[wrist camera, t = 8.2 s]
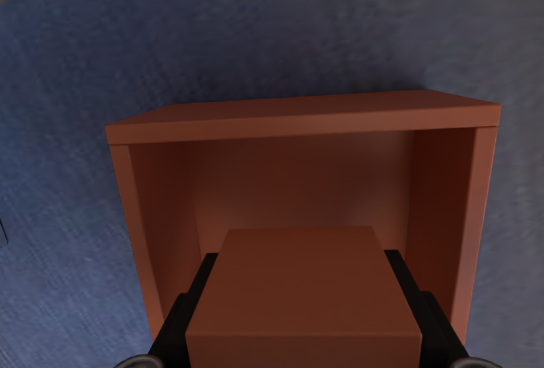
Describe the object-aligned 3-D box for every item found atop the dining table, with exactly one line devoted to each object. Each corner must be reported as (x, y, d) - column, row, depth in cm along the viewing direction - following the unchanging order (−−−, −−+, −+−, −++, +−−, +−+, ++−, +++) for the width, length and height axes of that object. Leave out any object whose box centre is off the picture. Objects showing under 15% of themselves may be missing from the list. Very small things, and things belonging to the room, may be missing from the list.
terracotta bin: (169, 103, 15) (102, 125, 10) (427, 88, 14) (503, 103, 9) (202, 308, 19) (165, 402, 14) (409, 307, 18) (455, 408, 13)
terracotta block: (227, 228, 11) (182, 333, 7) (372, 224, 10) (423, 334, 6) (241, 340, 12) (211, 485, 8) (368, 340, 12) (407, 494, 8)
